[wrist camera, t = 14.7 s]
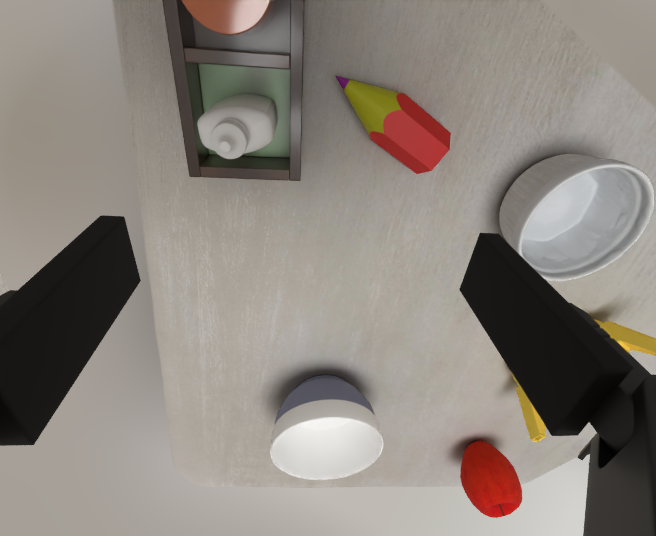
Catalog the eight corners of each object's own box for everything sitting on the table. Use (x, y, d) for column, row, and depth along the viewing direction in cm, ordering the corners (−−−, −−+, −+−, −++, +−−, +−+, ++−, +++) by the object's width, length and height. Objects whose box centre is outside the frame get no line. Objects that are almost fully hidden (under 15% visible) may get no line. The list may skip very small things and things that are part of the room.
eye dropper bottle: (224, 74, 31) (189, 92, 21) (284, 104, 32) (278, 133, 22) (210, 122, 33) (172, 159, 23) (267, 148, 34) (255, 193, 24)
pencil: (348, 48, 31) (355, 49, 28) (443, 128, 35) (458, 138, 32) (318, 97, 33) (321, 104, 29) (411, 167, 37) (422, 180, 34)
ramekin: (498, 266, 45) (527, 299, 40) (477, 177, 39) (509, 202, 33) (604, 223, 43) (652, 252, 37) (602, 121, 36) (660, 136, 30)
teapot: (595, 372, 59) (656, 440, 49) (497, 391, 60) (537, 461, 50) (621, 296, 50) (702, 360, 40) (504, 320, 51) (555, 388, 41)
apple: (446, 438, 67) (473, 509, 57) (498, 425, 66) (534, 496, 56) (452, 463, 72) (477, 532, 62) (500, 452, 71) (533, 520, 61)
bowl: (289, 351, 51) (288, 408, 43) (387, 369, 55) (402, 426, 47) (263, 415, 59) (257, 474, 51) (350, 428, 63) (358, 484, 55)
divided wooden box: (305, -88, 26) (306, -110, 22) (299, 166, 36) (300, 181, 33) (165, -103, 25) (142, -129, 21) (201, 162, 35) (189, 176, 32)
